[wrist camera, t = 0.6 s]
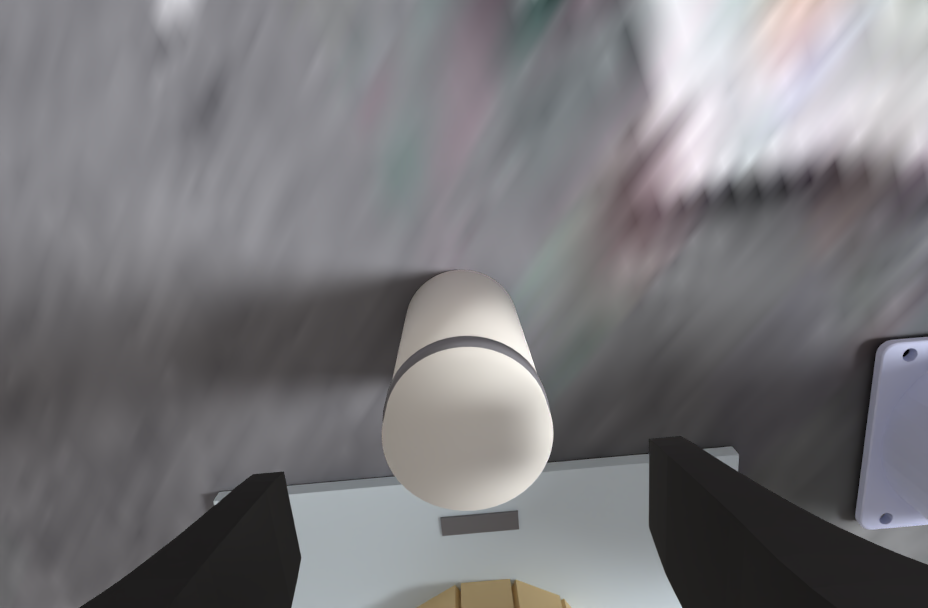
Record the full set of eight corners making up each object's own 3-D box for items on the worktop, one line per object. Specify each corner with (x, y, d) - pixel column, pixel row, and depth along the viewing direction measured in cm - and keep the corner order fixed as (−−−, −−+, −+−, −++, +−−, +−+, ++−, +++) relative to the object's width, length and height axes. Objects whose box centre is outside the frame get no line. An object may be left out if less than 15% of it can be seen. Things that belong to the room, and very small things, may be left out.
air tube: (514, 263, 21) (551, 348, 13) (521, 370, 22) (559, 504, 15) (397, 273, 21) (368, 364, 13) (411, 380, 22) (390, 519, 15)
